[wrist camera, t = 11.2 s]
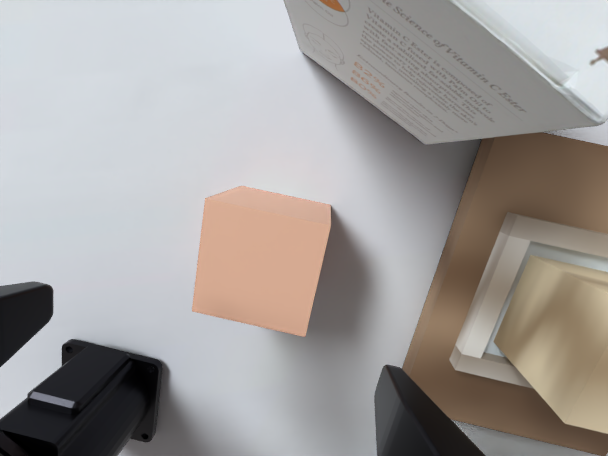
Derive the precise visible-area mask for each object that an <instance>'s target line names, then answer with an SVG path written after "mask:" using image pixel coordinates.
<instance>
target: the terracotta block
mask: <svg viewBox="0 0 608 456" xmlns="http://www.w3.org/2000/svg"><path fill="white" fill-rule="evenodd" d="M330 228H331V205H329V204H324V203H320V202H315V201H310V200H306V199H301V198H296V197H292V196H287V195H282V194H278V193H273V192H268V191H263V190H259V189H254V188H249V187H245V186H239V187H236V188H233V189H231V190H228V191H225V192H222V193H219V194H216V195H213V196H210V197H208V198H205V205H204V213H203V221H202V230H201V238H200V247H199V255H198V264H197V272H196V281H195V289H194V298H193V306H192V311H193V312H198V313H202V314H206V315H211V316H215V317H219V318H224V319H228V320H233V321H237V322H241V323H246V324H250V325H254V326H259V327H263V328H268V329H272V330H276V331H281V332H285V333H290V334H294V335H298V336H303V337H305V336H306V332H307V327H308V323H309V319H310V314H311V310H312V306H313V301H314V297H315V293H316V288H317V284H318V280H319V275H320V271H321V267H322V262H323V258H324V254H325V249H326V245H327V241H328V236H329V232H330Z"/></svg>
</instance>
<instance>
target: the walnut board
mask: <svg viewBox="0 0 608 456" xmlns="http://www.w3.org/2000/svg"><path fill="white" fill-rule="evenodd" d="M530 255H534V256H538V257H543V258H547V259H552V260H556V261H561V262H565V263H570V264H574V265H579V266H583V267H587V268H592V269H596V270H601V271H605V272H608V146H604V145H599V144H595V143H590V142H585V141H580V140H576V139H571V138H566V137H561V136H557V135H552V134H547V133H542V132H538V133H528V134H518V135H509V136H500V137H492V138H483V139H482V140H481V143H480V146H479V149H478V152H477V155H476V158H475V161H474V163H473V166H472V169H471V172H470V175H469V178H468V181H467V184H466V186H465V189H464V192H463V195H462V198H461V201H460V204H459V206H458V209H457V212H456V215H455V218H454V221H453V224H452V227H451V229H450V232H449V235H448V238H447V241H446V244H445V247H444V250H443V252H442V255H441V258H440V261H439V264H438V267H437V270H436V273H435V275H434V278H433V281H432V284H431V287H430V290H429V293H428V296H427V298H426V301H425V304H424V307H423V310H422V313H421V316H420V319H419V321H418V324H417V327H416V330H415V333H414V336H413V339H412V341H411V344H410V347H409V350H408V353H407V356H406V359H405V362H404V364H403V367H402V369H403V370H404V371H405V373H406V374H407V375H408V376H409V377H410V378H411V379H412V380H413V381H414V382H415V383H416V384H417V385H418V386H419V387H420V388H421V389H422V390H423V391H424V392H425V393H426V394H427V395H428V396H429V397H430V399H431V400H432V401H433V402H434V403H435V404H436V405H437V406H438V407H439V408H440V409H441V410H442V411H443V412H444V413H445V414H446V415H447V416H448V417H449V418H450V419H452V420H456V421H460V422H465V423H469V424H473V425H477V426H481V427H485V428H489V429H493V430H498V431H502V432H506V433H510V434H514V435H518V436H522V437H526V438H531V439H535V440H539V441H543V442H547V443H551V444H555V445H559V446H564V447H568V448H572V449H576V450H580V451H584V452H588V453H592V454H596V455H601V456H606V454H607V453H608V434H606V433H602V432H598V431H594V430H590V429H585V428H581V427H577V426H573V425H569V424H565V423H564V422H563V421H562V420H561V419H560V418H559V416H558V415H557V414H556V413H555V412H554V411H553V409H552V408H551V407H550V406H549V405H548V404H547V403H546V401H545V400H544V399H543V398H542V397H541V396H540V395H539V393H538V392H537V391H536V390H535V389H534V388H533V387H532V385H531V384H530V383H529V382H528V381H527V380H526V379H525V377H524V376H523V375H522V374H521V373H520V372H519V371H518V369H517V368H516V367H515V366H514V365H513V364H512V363H511V361H510V360H509V359H508V358H507V357H506V356H505V354H504V353H503V352H502V351H501V350H500V349H499V348H498V346H497V345H496V344H495V343H494V342H493V341H494V339H495V336H496V334H497V332H498V329H499V327H500V325H501V322H502V320H503V318H504V315H505V313H506V311H507V308H508V306H509V304H510V301H511V299H512V297H513V294H514V292H515V290H516V287H517V285H518V283H519V280H520V278H521V276H522V273H523V271H524V269H525V266H526V264H527V262H528V259H529V257H530Z"/></svg>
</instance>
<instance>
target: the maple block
mask: <svg viewBox="0 0 608 456" xmlns="http://www.w3.org/2000/svg"><path fill="white" fill-rule="evenodd" d="M493 342H494V343H495V344H496V345H497V346H498V348H499V349H500V350H501V351H502V352H503V353H504V354H505V356H506V357H507V358H508V359H509V360H510V361H511V363H512V364H513V365H514V366H515V367H516V368H517V369H518V371H519V372H520V373H521V374H522V375H523V376H524V377H525V379H526V380H527V381H528V382H529V383H530V384H531V385H532V387H533V388H534V389H535V390H536V391H537V392H538V393H539V395H540V396H541V397H542V398H543V399H544V400H545V401H546V403H547V404H548V405H549V406H550V407H551V408H552V409H553V411H554V412H555V413H556V414H557V415H558V416H559V418H560V419H561V420H562V421H563V422H564V423H565V424H569V425H573V426H577V427H581V428H585V429H590V430H594V431H598V432H602V433H606V434H608V272H605V271H601V270H596V269H592V268H587V267H583V266H579V265H574V264H570V263H565V262H561V261H556V260H552V259H547V258H543V257H538V256H534V255H530V257H529V259H528V262H527V264H526V266H525V269H524V271H523V273H522V276H521V278H520V280H519V283H518V285H517V287H516V290H515V292H514V294H513V297H512V299H511V301H510V304H509V306H508V308H507V311H506V313H505V315H504V318H503V320H502V322H501V325H500V327H499V329H498V332H497V334H496V336H495V339H494V341H493Z"/></svg>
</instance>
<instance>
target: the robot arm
mask: <svg viewBox="0 0 608 456" xmlns="http://www.w3.org/2000/svg"><path fill="white" fill-rule="evenodd" d="M52 315H53V288H52V287H51V286H50V285H48V284H44V283H40V282H27V283H19V284H12V285H5V286H0V367H1V366H2V365H3V364H4V363H6V362H7V361H8V360H9V359H10V358H11V357H12V356H13V355H14V354H15V353H16V352H17V351H18V350H19V349H20V348H21V347H23V346H24V345H25V344H26V343H27V342H28V341H29V340H30V339H31V338H32V337H33V336H34V335H35V334H36V333H37V332H38V331H39V330H41V329H42V328H43V327H44V326H45V325H46V324H47V323H48V322H49V321H50V319H51V317H52ZM151 366H152V367H154V368H152V367H151ZM161 374H162V364H161V362H160V361H158V360H156V359H153V358H149V357H145V356H140V355H136V354H132V353H128V352H124V351H120V350H116V349H112V348H108V347H104V346H99V345H95V344H91V343H87V342H83V341H79V340H75V339H71V340H69V341H67V342H66V343H65V344H63V346H62V367H60V368H59V369H58V370H57V371H55V372H54V373H53V374H52V375H50V376H49V377H48V378H47V379H45V380H44V381H43V382H41V383H40V384H39V385H38V386H36V387H35V388H34V389H33V390H31V391H30V392H29V393H28V397H27V398H26V399H25V400H24V401H22V402H21V403H20V404H19V405H17V406H16V407H15V408H14V409H12V410H11V411H10V412H9V413H7V414H6V415H5V416H4V417H2V418H1V419H0V456H118V454H119V453H120V452H121V450H122V449H123V447H124V446H125V444H126V443H127V442H128V440H129V439H130V438H131V439H135V440H139V441H143V442H150V441H151V440H152V438H153V436H154V435H155V431H156V421H157V412H158V402H159V393H160V383H161ZM374 400H375V421H376V441H377V456H485V455H484V454H483V453H482V451H481V450H480V449H479V448H478V447H477V446H476V445H475V444H474V443H473V442H472V441H471V440H470V439H469V438H468V437H467V436H466V435H465V434H464V433H463V432H462V431H461V430H460V429H459V428H458V427H457V426H456V424H455V423H454V422H453V421H452V420H451V419H450V418H449V417H448V416H447V415H446V414H445V413H444V412H443V411H442V410H441V409H440V408H439V407H438V406H437V405H436V404H435V403H434V402H433V401H432V400H431V399H430V397H429V396H428V395H427V394H426V393H425V392H424V391H423V390H422V389H421V388H420V387H419V386H418V385H417V384H416V383H415V382H414V381H413V380H412V379H411V378H410V377H409V376H408V375H407V374H406V373H405V371H404V370H403V369H401V368H400V367H396V366H391V365H385V366H384V367H383V369H382V372H381V375H380V378H379V381H378V384H377V387H376V391H375V399H374Z"/></svg>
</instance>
